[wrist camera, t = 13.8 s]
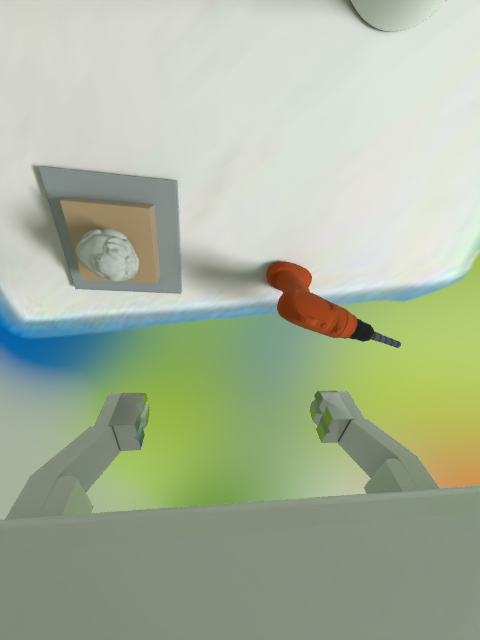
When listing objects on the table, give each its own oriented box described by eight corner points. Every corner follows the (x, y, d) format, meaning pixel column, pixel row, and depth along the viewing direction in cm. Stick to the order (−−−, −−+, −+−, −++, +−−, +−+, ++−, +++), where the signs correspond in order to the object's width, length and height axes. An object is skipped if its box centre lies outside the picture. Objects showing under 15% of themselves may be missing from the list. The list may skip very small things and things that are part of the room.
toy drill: (354, 315, 44) (399, 372, 31) (261, 280, 41) (268, 328, 28) (371, 293, 42) (426, 344, 29) (273, 254, 39) (286, 293, 26)
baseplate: (43, 166, 29) (20, 166, 26) (177, 180, 31) (173, 182, 28) (78, 286, 38) (65, 298, 34) (181, 290, 40) (178, 302, 36)
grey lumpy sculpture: (147, 272, 33) (134, 296, 28) (93, 263, 32) (66, 285, 26) (149, 228, 30) (134, 244, 24) (89, 215, 29) (57, 229, 23)
